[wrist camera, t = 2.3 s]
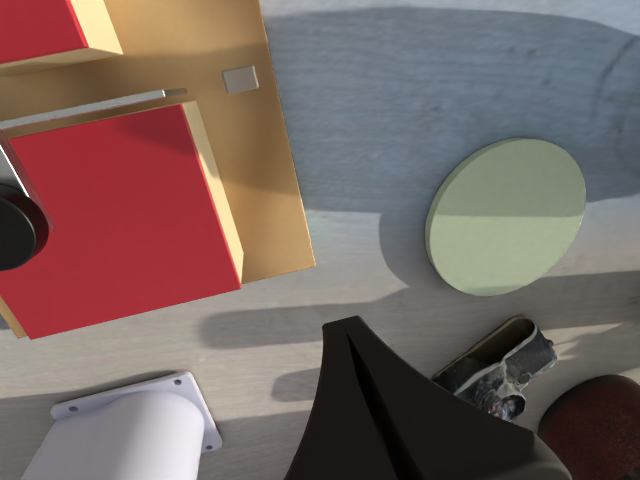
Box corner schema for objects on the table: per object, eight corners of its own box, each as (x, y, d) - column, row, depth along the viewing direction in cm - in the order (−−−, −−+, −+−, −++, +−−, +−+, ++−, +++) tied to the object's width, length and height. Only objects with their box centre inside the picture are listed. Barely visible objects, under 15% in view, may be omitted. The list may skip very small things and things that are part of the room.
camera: (549, 343, 30) (592, 381, 26) (449, 412, 31) (475, 458, 27) (525, 308, 28) (567, 344, 24) (418, 384, 29) (443, 430, 25)
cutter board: (27, 328, 22) (-50, 410, 16) (-213, -28, 14) (-508, -97, 9) (313, 259, 23) (331, 314, 18) (235, -102, 15) (224, -202, 10)
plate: (428, 306, 26) (433, 312, 25) (419, 158, 21) (425, 161, 21) (566, 270, 27) (575, 276, 26) (587, 120, 22) (598, 121, 21)
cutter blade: (-62, 247, 14) (-200, 319, 10) (-132, 151, 12) (-334, 186, 8) (217, 185, 15) (201, 227, 10) (186, 87, 13) (152, 89, 9)
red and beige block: (70, 294, 20) (30, 340, 17) (-18, 142, 17) (-94, 159, 13) (243, 253, 21) (241, 289, 17) (196, 99, 17) (180, 103, 14)
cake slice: (10, 76, 16) (-64, 74, 12) (-46, -34, 14) (-151, -74, 10) (123, 54, 16) (85, 46, 12) (83, -55, 14) (24, -102, 11)
